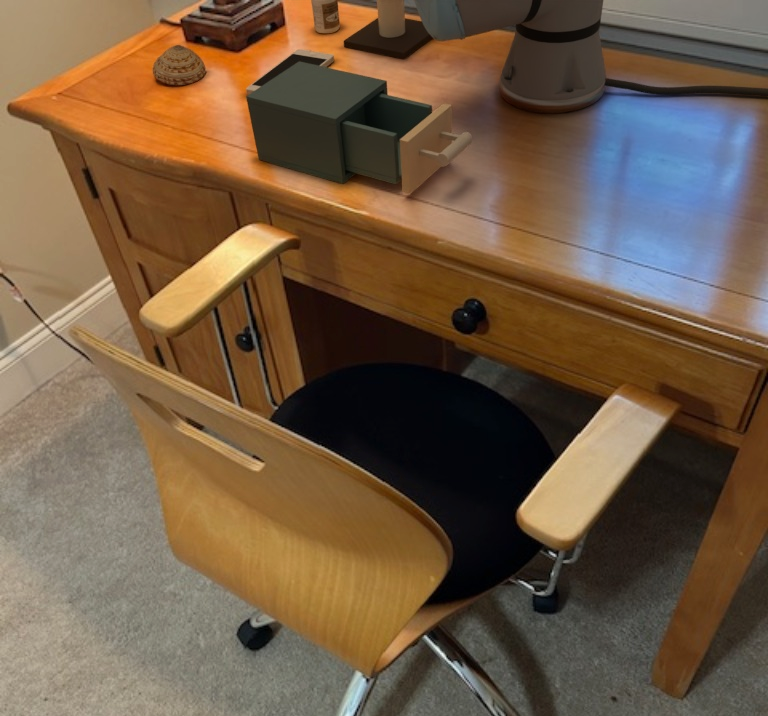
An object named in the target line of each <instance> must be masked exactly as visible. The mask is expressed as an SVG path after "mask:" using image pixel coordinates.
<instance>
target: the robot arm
mask: <svg viewBox="0 0 768 716" xmlns="http://www.w3.org/2000/svg"><path fill="white" fill-rule="evenodd" d="M413 1H414V5H415V8H416V11H417V13H418V16H419V18H420V21H422V23H423V25H424V27H425V29H426V30H427V32H428V33H429V34H430V35H431V36H432V37H433V38H432V39H434V40H436V41H438V42H448V41H449V42H450V41H455V40H465V39H466V38H470V37H474V36H478V35H482V34H484V33H488V32H489V33H490V32H493V31H496V30H500V29H504V28H508V27H512V26H513V27H514V26H515V31H514V36H513V38H512V41H511V45H510V47H509V50H508V53H507V55H506V59H505V62H504V65H503V67H502V70H501V73H500V77H499V78H500V79H499V93H500V96H501V97H502V99H503V100H504V101H505V102H507V103H508V104H510V105H511V106H513V107H515V108H517V109H521V110H525V111H528V112H534V113H543V114H556V113H557V114H558V113H568V112H573V111H574V112H575V111H578V110H581V109H584V108H586V107H589V106H591V105H593V104H595V103H596V102H598V101H599V99H601V98H602V97H603V95H604V93H605V89H606V87H610V88H617V89H621V90H622V89H623V90H629V91H634V92H638V93H642V94H643V93H644V94H649V95H659V96H677V95H695V94H696V95H697V94H718V95H719V94H721V95H743V96H755V97H768V88H765V87H749V86H734V85H690V86H689V85H687V86H665V87H664V86H655V85H646V84H642V83H638V82H633V81H627V80H620V79H615V78H607V73H606V72H607V71H606V66H605V60H604V53H603V48H602V41H601V36H600V29H601V21H602V14H603V8H604V0H413Z"/></svg>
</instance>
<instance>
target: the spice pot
mask: <svg viewBox="0 0 768 716" xmlns="http://www.w3.org/2000/svg"><path fill="white" fill-rule="evenodd" d="M376 4H377V5H376V6H377V8H376V9H377V18H378V23H379V34H380V35H381V36H383V37H387V38H393V37H398V36H401V35H403V34H404V33H405V18H406V16H405V15H406V13H405V12H406V11H405V0H376Z"/></svg>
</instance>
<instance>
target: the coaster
mask: <svg viewBox="0 0 768 716" xmlns="http://www.w3.org/2000/svg"><path fill="white" fill-rule="evenodd" d="M433 39H434V38H433V37H432V36H431V35H430V34H429V33H428V32H427V30H426V29H425V27H424V25H423V23H422V21H421V20H417V19H411V18H406V17H405V33H404V34H403V35H401V36H398V37H393V38H387V37H383V36H381V35H380V34H379V23H378V17H376V18H375V19H373V20H372V21H371V22H369V23H368V24H366V25H365V26H363V27H361V28H360V29H359V30H357V31H356V32H354V33H353V34H351V35H349V36H348V37H347V38H345V39H344V40H343V47H344V48H346V49H347V48H348V49H351V50H352V49H353V50H358V51H363V52H367V53H372V54H377V55H380V56H385V57H390V58H396V59H399V60H400V59H401V60H405V59H407V58H409V56H411V55H412V54H414V53H415V52H416V51H418V50H419V49H420V48H422V47H423V46H424V45H426V44H427V43H429V42H430V41H431V40H433Z"/></svg>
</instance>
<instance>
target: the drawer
mask: <svg viewBox="0 0 768 716" xmlns="http://www.w3.org/2000/svg"><path fill="white" fill-rule="evenodd" d="M452 112H453V111H452V104H449V103H444V102H443V103H442V104H441V105H440V106H438V107H437V108H435V110H434V111H433V106H432V104H429V103H424V102H419V101H415V100H411V99H407V98H403V97H398V96H393V95H390V94H388V95H386V94H381V93H378V94H377V95H376V96H374V97H373V98H372V99H370V100H369V101H368V102H366V103H365V104H364V105H362V106H361V107H360V108H358V109H357V110H356V111H354V112H353V113H352V114H350V115H349V116H348V117H346V118H345V119H344V120H343V121H341V122H340V129H341V138H342V147H343V156H344V164H345V170H347V171H350V172H354V173H356V174H357V175H361V176H365V177H369V178H371V179H376V180H378V181H383V182H386V183H390V184H393V185H398V184H399V183H400V182H401V189H402V193H405V194H408V195H411V194H412V193H413V192H415V190H416V189H418V188H419V187H420V186H421V185H422V184H424V182H425V181H427V180H428V179H429V178H430V177H431V176H432V175H433V174H435V172H437V171H438V170H439V169H440V168H441V167H447V166H448V165H449V164H450V163H451V162H452V161H453V160H454V159H456V158H457V157H458V156H459V155H461V153H462V152H463V151H464V150H466V149H467V148H469V146H470V145H471V144H472V142H473V136H472V134H471V133H470V132H468V131H463V132H462V133H461V134H456V133H452V131H453V130H452V129H453V128H452V127H453V126H452V124H453V122H452V120H453V119H452V118H453V117H452V114H453V113H452Z"/></svg>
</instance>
